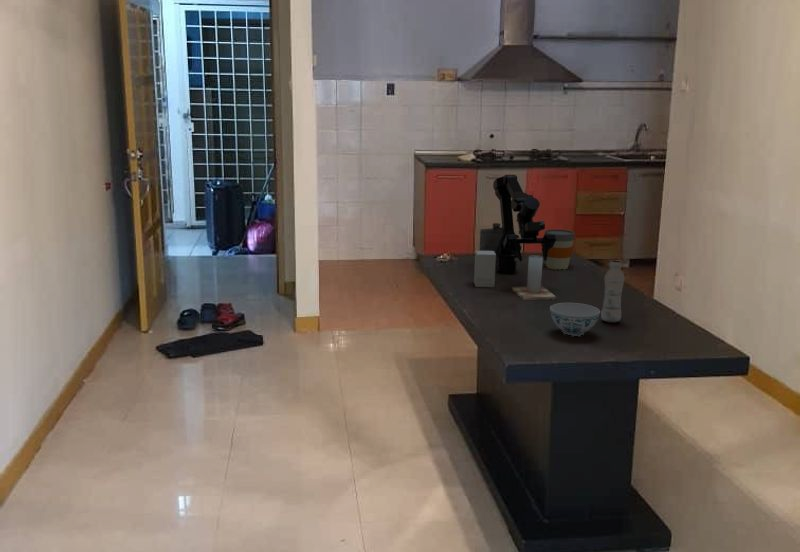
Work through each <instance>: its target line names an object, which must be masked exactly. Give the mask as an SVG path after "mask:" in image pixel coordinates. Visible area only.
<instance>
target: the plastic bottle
mask: <svg viewBox="0 0 800 552" xmlns="http://www.w3.org/2000/svg"><path fill="white" fill-rule="evenodd" d="M608 268H609V269H608V270H607V271H606V272H605V274H604V277H603V279H604V281H603V282H604V296H603V302H602V308H601V310H600V317H601V319H602V321H604V322H607V323H618V322H619V321H620V320H621V319H622V308H621V307H622V292H623V288H624V283H625V279H626V277H625V275H624V272H623V270H622V269H621V268H622V261H620V260H613V259H612V260H610V261H609V265H608Z"/></svg>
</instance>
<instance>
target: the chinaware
mask: <svg viewBox="0 0 800 552" xmlns="http://www.w3.org/2000/svg"><path fill="white" fill-rule="evenodd" d="M549 313H550V315H551V319H552V321H553V323H554V324H555V326H556V327H557V328H558V329H560V330H561V333H562V332H563V333H564V334H563V333H562V334H563V335H565V334H568V335H572V336H571V337H574V336H578V337H582V336H581V335H583V336H584V335H585V332H588V331H589V330H591V329H592V328H593V327H594V326H595V325H596V323H597V322H598V320H599V317H600V315H601V310H600V309H599V308H598V307H596V306H593V305H590V304H586V303H577V302H559V303H554V304H552V305H550V306H549Z"/></svg>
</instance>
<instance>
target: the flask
mask: <svg viewBox="0 0 800 552" xmlns="http://www.w3.org/2000/svg"><path fill="white" fill-rule="evenodd" d="M479 230H480V231H479V250H478V251H494V252H495V254H496V250H497V247H498V245H499V241H500V239H501V237H502V235H503V232H502V226H501V223H498V222H497V223H496V222H493V223H492V228H490V227H489V228H480V229H479ZM495 266H496V267H499V258H498V257H497V256H496V264H495Z"/></svg>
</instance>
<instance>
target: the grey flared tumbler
mask: <svg viewBox="0 0 800 552" xmlns="http://www.w3.org/2000/svg"><path fill="white" fill-rule="evenodd" d="M543 260H544V257H543V255H539V254H531V255H528V262H527V263H528V264H527V280H526V281H527V282H526V283H527V284H526V287H527V292H529V293H540V292H541V286H542V278H543V277H542V273H543Z"/></svg>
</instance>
